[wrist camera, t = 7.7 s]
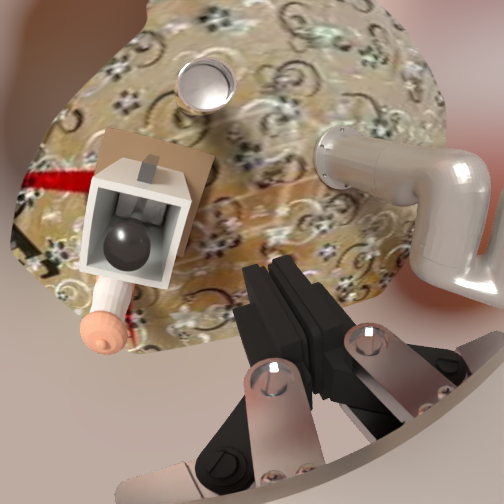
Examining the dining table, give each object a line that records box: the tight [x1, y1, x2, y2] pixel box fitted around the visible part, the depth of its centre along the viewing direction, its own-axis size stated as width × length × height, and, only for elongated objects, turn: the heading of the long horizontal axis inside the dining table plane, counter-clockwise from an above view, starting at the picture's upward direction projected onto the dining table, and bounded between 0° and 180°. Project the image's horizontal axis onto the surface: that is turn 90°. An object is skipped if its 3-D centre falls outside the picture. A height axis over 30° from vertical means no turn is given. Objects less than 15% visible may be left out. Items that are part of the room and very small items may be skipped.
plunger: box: [103, 192, 167, 272], centre depth 32 cm, size 8×8×20 cm
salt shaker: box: [80, 275, 135, 355], centre depth 39 cm, size 7×7×19 cm
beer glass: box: [174, 57, 237, 116], centre depth 32 cm, size 7×7×15 cm
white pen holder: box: [79, 127, 215, 290], centre depth 34 cm, size 18×18×20 cm
